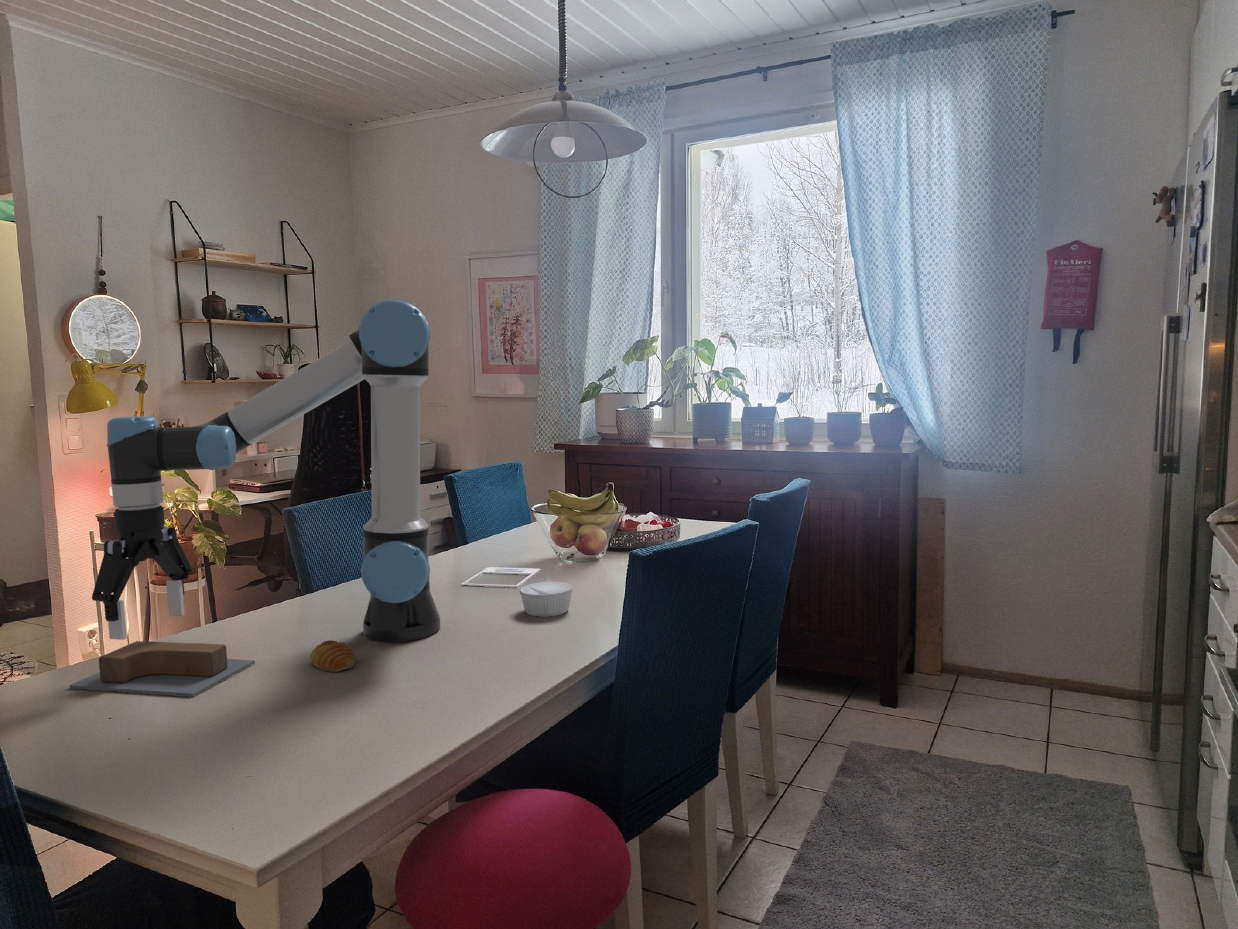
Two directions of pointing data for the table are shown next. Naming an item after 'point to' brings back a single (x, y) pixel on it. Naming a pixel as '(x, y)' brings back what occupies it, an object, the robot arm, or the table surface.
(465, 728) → the table surface
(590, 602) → the table surface
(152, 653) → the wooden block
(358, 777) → the table surface
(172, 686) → the mat
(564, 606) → the ramekin
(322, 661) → the pastry
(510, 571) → the photo frame
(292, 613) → the table surface
